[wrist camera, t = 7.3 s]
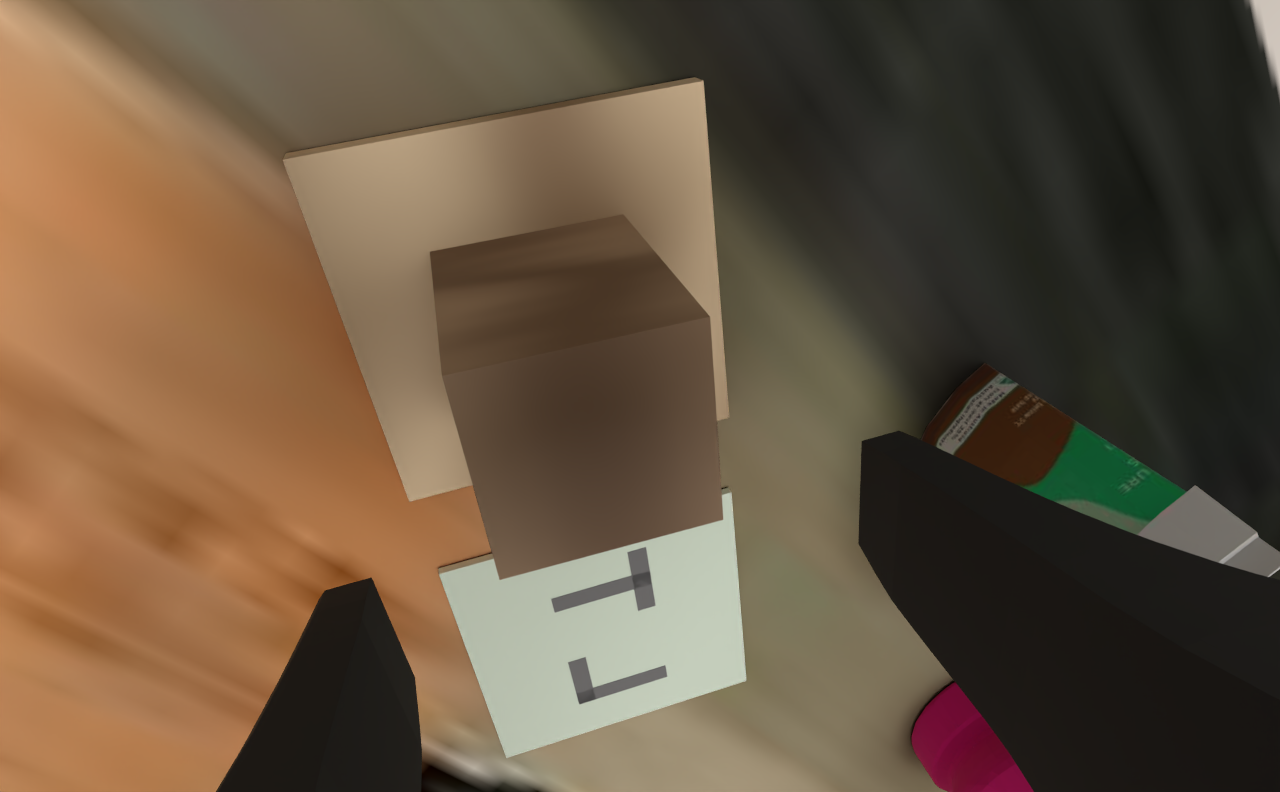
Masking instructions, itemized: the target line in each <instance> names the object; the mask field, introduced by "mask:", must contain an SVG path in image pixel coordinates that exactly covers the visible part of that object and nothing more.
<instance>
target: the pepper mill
mask: <svg viewBox="0 0 1280 792" xmlns="http://www.w3.org/2000/svg"><path fill="white" fill-rule="evenodd" d="M911 738H912V746H913V749H914V752H915V754H916V755H917V757H918V758H919V760H920V761H921V763H922V764H923V766H924V768H925V769H926V771H927V772H928V774H929V775H930V777H931V778H932V780H933V781H934V783H935V784H936V785H937V786H938V787H939V788H941V789H943V790H946V791H948V792H1034V791H1033V789H1032V788H1031V786H1030V785H1029V783H1028V782H1027V780H1026V779H1025V777H1024V775H1023V774H1022V772H1021V771H1020V769H1019V768H1018V766H1017V765H1016V763H1015V761H1014V760H1013V758H1012V757H1011V755H1010V754H1009V752H1008V751H1007V749H1006V748H1005V747H1004V745H1003V744H1002V742H1001V741H1000V740H999V738H998V737H997V736H996V734H995V733H994V731H993V730H992V729H991V727H990V726H989V724H988V723H987V722H986V721H985V719H984V718H983V717H982V715H981V714H980V713H979V712H978V710H977V709H976V708H975V707H974V705H973V704H972V703H971V701H970V700H969V699H968V698H967V696H966V695H965V694H964V693H963V691H962V690H961V689H960V687H959V686H958V685H957V684H956V682H954V683H952V684H951V685H949V686H948V687H947V688H945V689H944V690H943V691H941V692H940V693H939V694H938V695H937V696H936V697H935V698H934V699H933V700H932V701H931V702H930V703H929V704H928V705H927V706H926V707H925V709H924V710H923V712H922V713H921V715H920V716H919V718H918V719H917V721H916V723H915V726H914V730H913V733H912V736H911Z"/></svg>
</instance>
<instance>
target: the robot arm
mask: <svg viewBox="0 0 1280 792" xmlns="http://www.w3.org/2000/svg"><path fill="white" fill-rule="evenodd" d="M859 545H860V547H861V549H862V550H863V552H864V554H865V556H866V558H867V559H868V561H869V563H870V565H871V566H872V568H873V570H874V572H875V573H876V575H877V577H878V578H879V580H880V582H881V583H882V585H883V587H884V588H885V590H886V591H887V593H888V595H889V596H890V598H891V600H892V601H893V602H894V604H895V605H896V606H897V608H898V609H899V610H900V612H901V613H902V614H903V616H904V617H905V618H906V620H907V621H908V622H909V623H910V625H911V626H912V627H913V629H914V630H915V631H916V632H917V634H918V635H919V636H920V638H921V639H922V640H923V642H924V643H925V644H926V645H927V647H928V648H929V649H930V651H931V652H932V653H933V654H934V656H935V657H936V658H937V659H938V661H939V662H940V663H941V665H942V666H943V667H944V668H945V670H946V671H947V672H948V673H949V675H950V676H951V677H952V679H953V680H954V681H955V682H956V684H957V685H958V686H959V687H960V689H961V690H962V691H963V693H964V694H965V695H966V696H967V698H968V699H969V700H970V701H971V703H972V704H973V705H974V707H975V708H976V709H977V710H978V712H979V713H980V714H981V715H982V717H983V718H984V719H985V721H986V722H987V723H988V724H989V726H990V727H991V729H992V730H993V731H994V733H995V734H996V736H997V737H998V738H999V740H1000V741H1001V742H1002V744H1003V745H1004V747H1005V748H1006V749H1007V751H1008V752H1009V754H1010V755H1011V757H1012V758H1013V760H1014V761H1015V763H1016V765H1017V766H1018V768H1019V769H1020V771H1021V772H1022V774H1023V775H1024V777H1025V779H1026V780H1027V782H1028V783H1029V785H1030V786H1031V788H1032V789H1033V791H1034V792H1280V580H1278V579H1274V578H1270V577H1267V576H1263V575H1259V574H1255V573H1252V572H1249V571H1245V570H1242V569H1239V568H1235V567H1232V566H1228V565H1225V564H1222V563H1219V562H1215V561H1212V560H1209V559H1206V558H1203V557H1200V556H1197V555H1194V554H1191V553H1188V552H1185V551H1182V550H1179V549H1176V548H1173V547H1170V546H1167V545H1164V544H1161V543H1158V542H1155V541H1153V540H1150V539H1147V538H1144V537H1142V536H1139V535H1136V534H1133V533H1131V532H1128V531H1125V530H1123V529H1120V528H1118V527H1115V526H1113V525H1110V524H1108V523H1105V522H1103V521H1100V520H1098V519H1095V518H1093V517H1090V516H1088V515H1085V514H1083V513H1080V512H1078V511H1075V510H1073V509H1071V508H1068V507H1066V506H1064V505H1061V504H1059V503H1057V502H1054V501H1052V500H1050V499H1047V498H1045V497H1043V496H1041V495H1038V494H1036V493H1034V492H1032V491H1029V490H1027V489H1025V488H1023V487H1020V486H1018V485H1016V484H1014V483H1012V482H1009V481H1007V480H1005V479H1003V478H1001V477H999V476H997V475H994V474H992V473H990V472H988V471H986V470H984V469H982V468H979V467H977V466H975V465H973V464H971V463H969V462H967V461H965V460H963V459H960V458H958V457H956V456H954V455H952V454H950V453H948V452H946V451H943V450H941V449H939V448H937V447H935V446H933V445H931V444H928V443H926V442H924V441H922V440H920V439H917V438H915V437H913V436H910V435H908V434H906V433H903V432H901V431H896V432H893V433H889V434H886V435H882V436H878V437H875V438H871V439H868V440H864V441H862V453H861V483H860V514H859ZM421 765H422V747H421V736H420V724H419V713H418V704H417V694H416V685H415V677H414V675H413V672H412V670H411V668H410V665H409V663H408V661H407V658H406V656H405V654H404V651H403V649H402V647H401V645H400V642H399V640H398V638H397V635H396V633H395V631H394V628H393V626H392V624H391V621H390V619H389V617H388V615H387V612H386V610H385V608H384V605H383V603H382V601H381V598H380V596H379V594H378V591H377V589H376V587H375V585H374V582H373V580H372V578H368V579H365V580H361V581H357V582H354V583H350V584H347V585H343V586H339V587H336V588H332V589H329V590H325V591H324V593H323V594H322V596H321V597H320V599H319V601H318V603H317V605H316V607H315V609H314V611H313V613H312V615H311V617H310V619H309V621H308V623H307V625H306V627H305V629H304V631H303V633H302V636H301V638H300V640H299V642H298V644H297V646H296V648H295V650H294V652H293V654H292V656H291V658H290V660H289V662H288V664H287V666H286V667H285V669H284V671H283V673H282V675H281V677H280V679H279V681H278V683H277V685H276V687H275V689H274V691H273V692H272V694H271V696H270V698H269V700H268V702H267V704H266V705H265V707H264V709H263V711H262V713H261V715H260V716H259V718H258V720H257V722H256V724H255V726H254V728H253V729H252V731H251V733H250V735H249V737H248V739H247V740H246V742H245V744H244V746H243V747H242V749H241V751H240V753H239V754H238V756H237V758H236V759H235V761H234V763H233V764H232V766H231V768H230V769H229V771H228V773H227V774H226V776H225V778H224V779H223V781H222V783H221V784H220V786H219V788H218V789H217V791H216V792H421Z"/></svg>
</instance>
